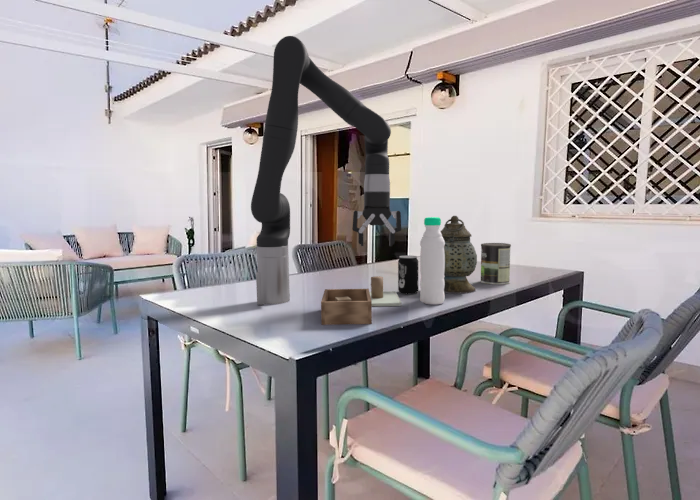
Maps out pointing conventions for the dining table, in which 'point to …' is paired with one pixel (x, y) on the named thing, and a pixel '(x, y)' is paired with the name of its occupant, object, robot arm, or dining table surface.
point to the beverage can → (408, 274)
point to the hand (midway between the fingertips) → (376, 246)
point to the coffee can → (495, 263)
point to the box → (346, 307)
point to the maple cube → (342, 299)
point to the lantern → (458, 257)
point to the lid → (382, 294)
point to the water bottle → (432, 263)
